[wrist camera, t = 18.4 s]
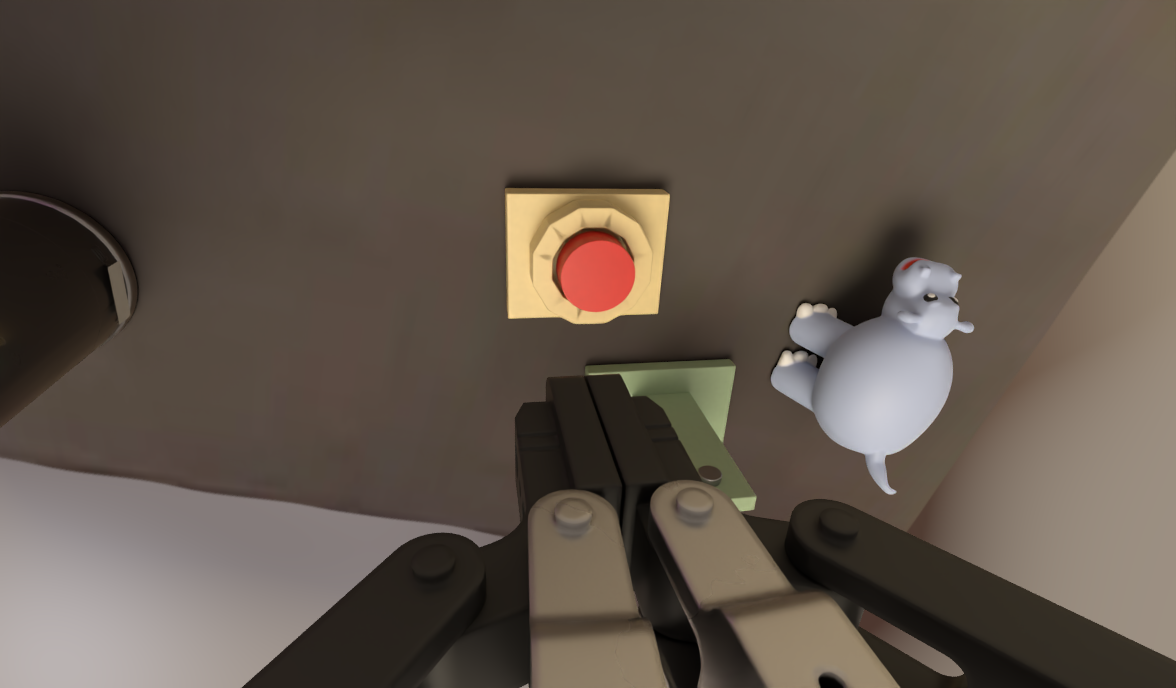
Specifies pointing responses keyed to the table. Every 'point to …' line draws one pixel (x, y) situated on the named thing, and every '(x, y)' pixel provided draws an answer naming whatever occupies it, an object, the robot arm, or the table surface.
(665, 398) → the bracket
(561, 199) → the button box
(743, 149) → the table surface
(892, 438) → the hippopotamus toy
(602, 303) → the button
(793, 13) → the table surface
